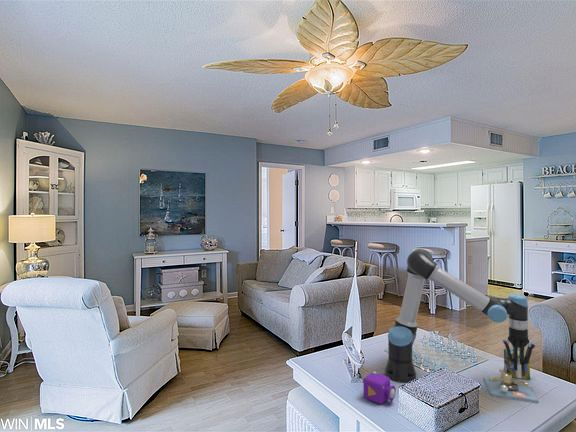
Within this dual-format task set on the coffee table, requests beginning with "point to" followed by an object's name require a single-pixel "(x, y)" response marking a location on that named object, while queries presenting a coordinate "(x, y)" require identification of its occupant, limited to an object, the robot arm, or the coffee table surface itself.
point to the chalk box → (510, 366)
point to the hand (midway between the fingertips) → (518, 377)
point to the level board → (510, 391)
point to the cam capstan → (508, 381)
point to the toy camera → (378, 388)
